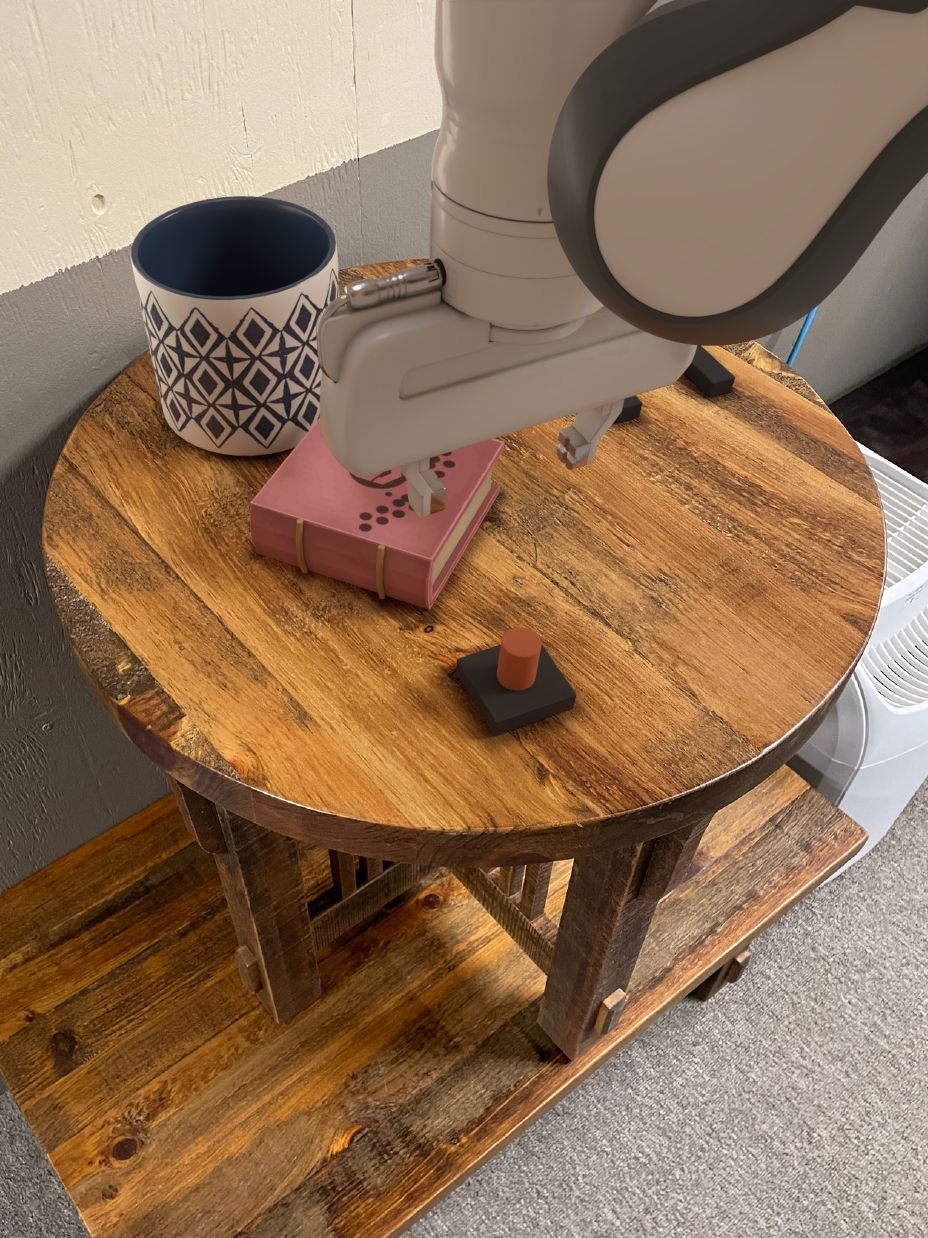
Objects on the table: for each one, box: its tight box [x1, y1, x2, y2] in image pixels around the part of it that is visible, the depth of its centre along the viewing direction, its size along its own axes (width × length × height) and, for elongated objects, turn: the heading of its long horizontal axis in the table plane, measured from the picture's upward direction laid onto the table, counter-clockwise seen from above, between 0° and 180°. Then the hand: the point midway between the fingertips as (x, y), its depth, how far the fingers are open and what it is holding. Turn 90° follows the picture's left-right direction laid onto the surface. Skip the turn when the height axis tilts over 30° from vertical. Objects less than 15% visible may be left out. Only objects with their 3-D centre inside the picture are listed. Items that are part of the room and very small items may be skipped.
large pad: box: [614, 345, 736, 424], centre depth 90 cm, size 12×10×2 cm
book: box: [249, 418, 506, 611], centre depth 76 cm, size 14×15×5 cm
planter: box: [130, 195, 340, 457], centre depth 82 cm, size 16×16×14 cm
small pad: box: [455, 626, 578, 737], centre depth 66 cm, size 6×6×5 cm
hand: (502, 484), depth 56 cm, fingers open, 8 cm apart
